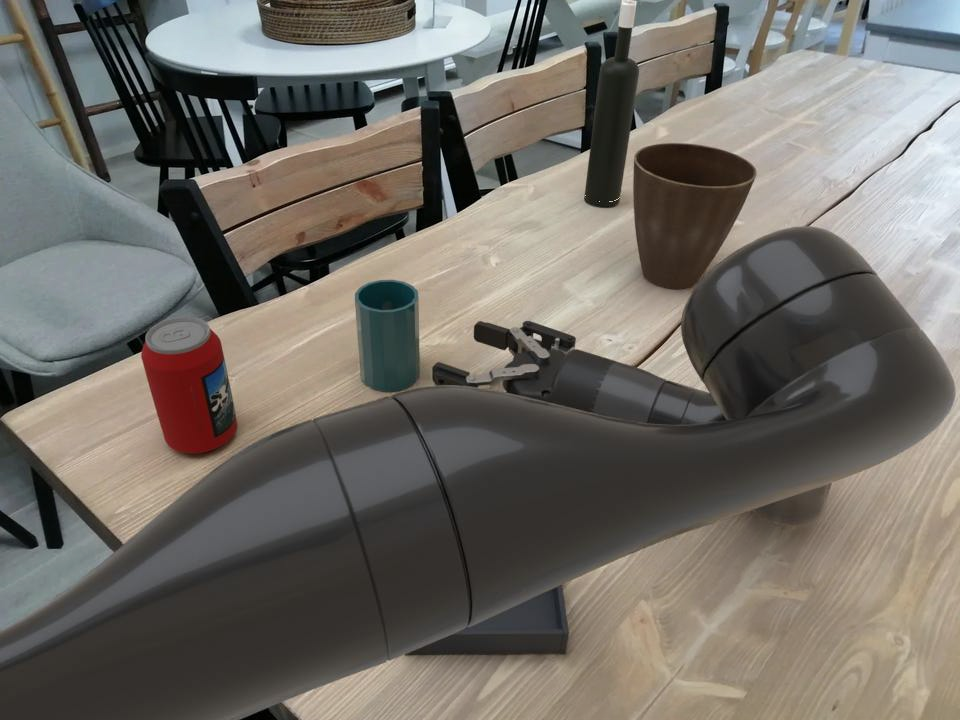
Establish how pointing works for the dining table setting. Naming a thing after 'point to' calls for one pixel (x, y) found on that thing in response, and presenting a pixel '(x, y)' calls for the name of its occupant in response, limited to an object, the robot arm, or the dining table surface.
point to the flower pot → (685, 208)
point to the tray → (512, 631)
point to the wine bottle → (613, 117)
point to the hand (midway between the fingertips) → (455, 350)
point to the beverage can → (189, 384)
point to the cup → (388, 334)
